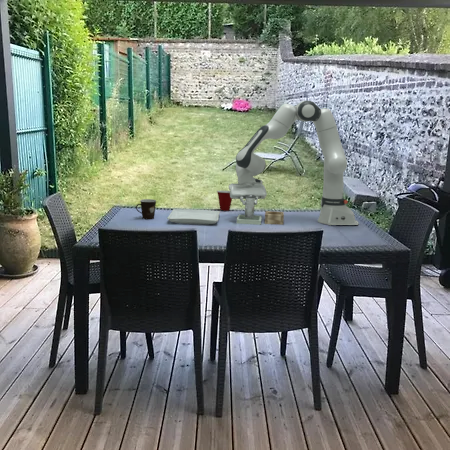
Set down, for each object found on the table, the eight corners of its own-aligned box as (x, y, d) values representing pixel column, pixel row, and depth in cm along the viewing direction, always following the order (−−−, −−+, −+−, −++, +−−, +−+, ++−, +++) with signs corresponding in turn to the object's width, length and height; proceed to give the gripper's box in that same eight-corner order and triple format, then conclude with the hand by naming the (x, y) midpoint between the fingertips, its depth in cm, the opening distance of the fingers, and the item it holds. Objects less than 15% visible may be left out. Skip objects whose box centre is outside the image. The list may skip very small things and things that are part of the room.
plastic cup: (234, 208, 317) (235, 189, 315) (232, 212, 307) (233, 192, 304) (217, 207, 318) (217, 188, 316) (215, 211, 308) (215, 191, 305)
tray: (261, 221, 284) (261, 215, 284) (260, 226, 272) (261, 220, 271) (238, 220, 285) (238, 214, 285) (236, 225, 273) (236, 219, 272)
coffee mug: (154, 216, 288) (154, 199, 285) (157, 219, 280) (157, 201, 278) (133, 217, 284) (133, 199, 282) (136, 220, 276) (136, 202, 274)
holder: (282, 222, 283) (283, 211, 282) (283, 226, 274) (283, 215, 272) (264, 221, 284) (265, 210, 283) (264, 225, 275) (265, 214, 273)
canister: (254, 216, 280) (255, 194, 277) (253, 218, 275) (254, 196, 272) (244, 215, 281) (245, 194, 278) (244, 217, 276) (245, 195, 273)
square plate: (217, 227, 269) (218, 219, 268) (166, 224, 270) (166, 217, 269) (220, 216, 296) (220, 209, 295) (173, 214, 296) (173, 208, 295)
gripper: (229, 180, 278) (232, 201, 271) (265, 180, 282) (269, 201, 275) (227, 187, 283) (230, 207, 276) (262, 187, 288) (266, 207, 281)
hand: (250, 204), depth 276 cm, fingers closed on canister, 5 cm apart
